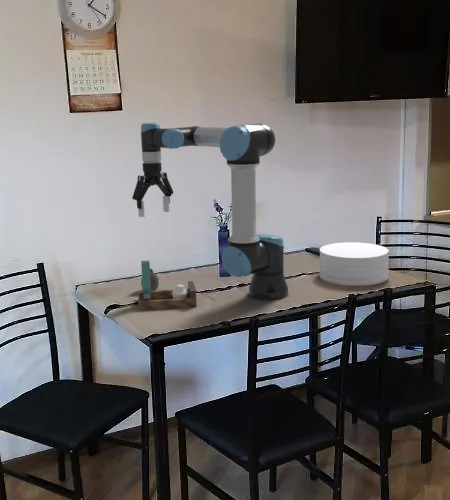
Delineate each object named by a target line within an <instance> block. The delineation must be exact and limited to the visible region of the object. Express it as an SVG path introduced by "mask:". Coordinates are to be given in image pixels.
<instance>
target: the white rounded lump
mask: <svg viewBox="0 0 450 500" xmlns="http://www.w3.org/2000/svg"><path fill="white" fill-rule="evenodd" d="M186 289H187V288H186V287H185V285H184V284H181V283H180V284H176V285H175V287H174V289H172V290H173V292H172V295H173V298H172V299H182V298H187V295H188V291H187V290H186Z"/></svg>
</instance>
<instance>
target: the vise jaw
mask: <svg viewBox="0 0 450 500" xmlns="http://www.w3.org/2000/svg"><path fill="white" fill-rule="evenodd" d="M140 261H141V264H140V265H141V279H142V285H141V287H142V286H143V288H142V291H143V293H144V300H143V301H146V300H151V295H150V291H151V281H150V269H151V265H150V263H151V262H150V260H140Z"/></svg>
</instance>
